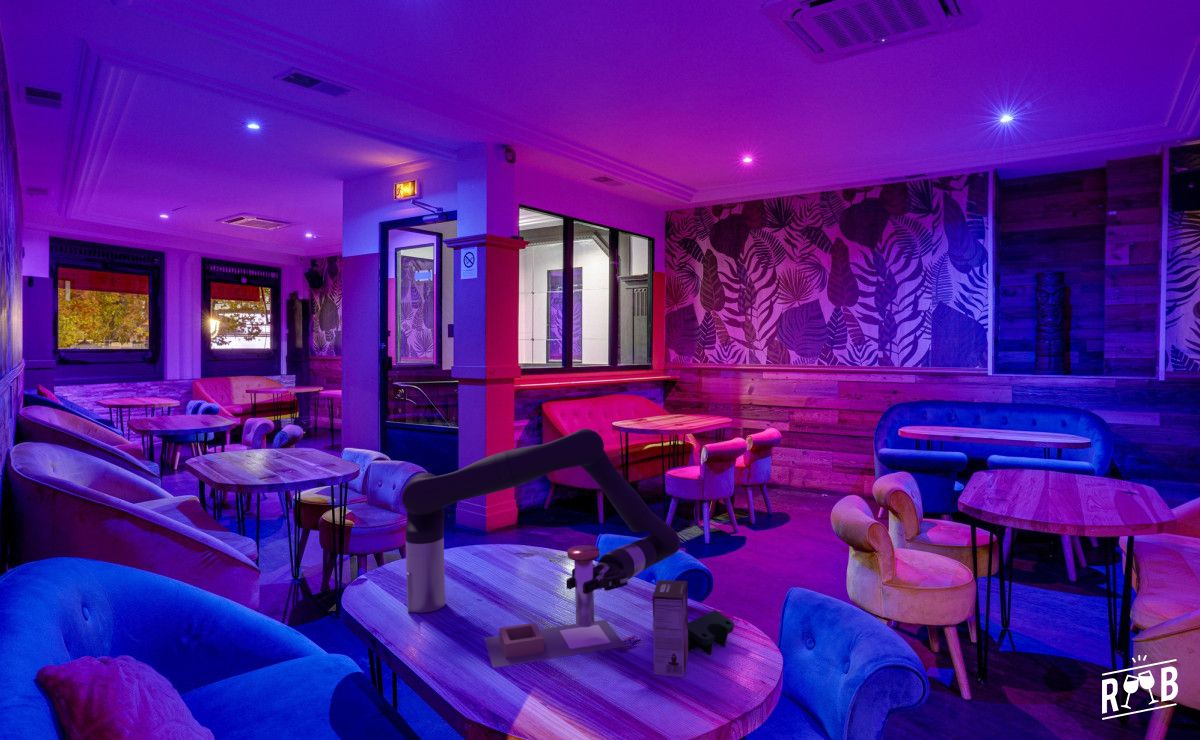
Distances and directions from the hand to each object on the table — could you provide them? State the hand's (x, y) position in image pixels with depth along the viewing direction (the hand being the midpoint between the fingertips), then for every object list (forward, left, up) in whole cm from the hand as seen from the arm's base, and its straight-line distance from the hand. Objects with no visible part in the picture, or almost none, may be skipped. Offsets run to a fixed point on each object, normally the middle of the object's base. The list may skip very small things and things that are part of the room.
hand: (576, 586), depth 140 cm
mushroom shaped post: (+2, +2, -9) cm, 9 cm away
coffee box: (+16, -13, -14) cm, 25 cm away
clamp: (+27, -9, -14) cm, 31 cm away
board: (-5, +2, -13) cm, 14 cm away
